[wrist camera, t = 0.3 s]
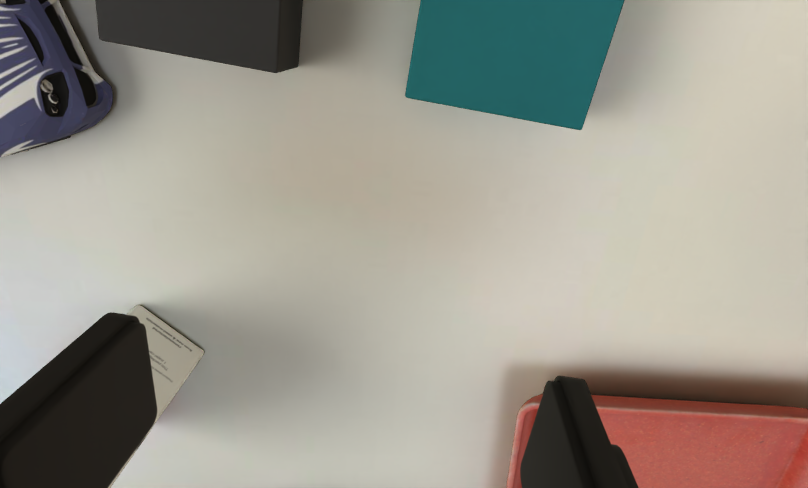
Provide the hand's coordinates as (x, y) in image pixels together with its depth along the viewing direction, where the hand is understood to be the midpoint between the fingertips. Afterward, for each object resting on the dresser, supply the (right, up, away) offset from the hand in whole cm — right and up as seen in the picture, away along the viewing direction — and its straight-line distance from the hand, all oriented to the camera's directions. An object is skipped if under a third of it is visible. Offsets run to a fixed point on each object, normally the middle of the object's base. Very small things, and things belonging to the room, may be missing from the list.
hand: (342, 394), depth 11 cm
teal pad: (+6, +12, +9) cm, 16 cm away
